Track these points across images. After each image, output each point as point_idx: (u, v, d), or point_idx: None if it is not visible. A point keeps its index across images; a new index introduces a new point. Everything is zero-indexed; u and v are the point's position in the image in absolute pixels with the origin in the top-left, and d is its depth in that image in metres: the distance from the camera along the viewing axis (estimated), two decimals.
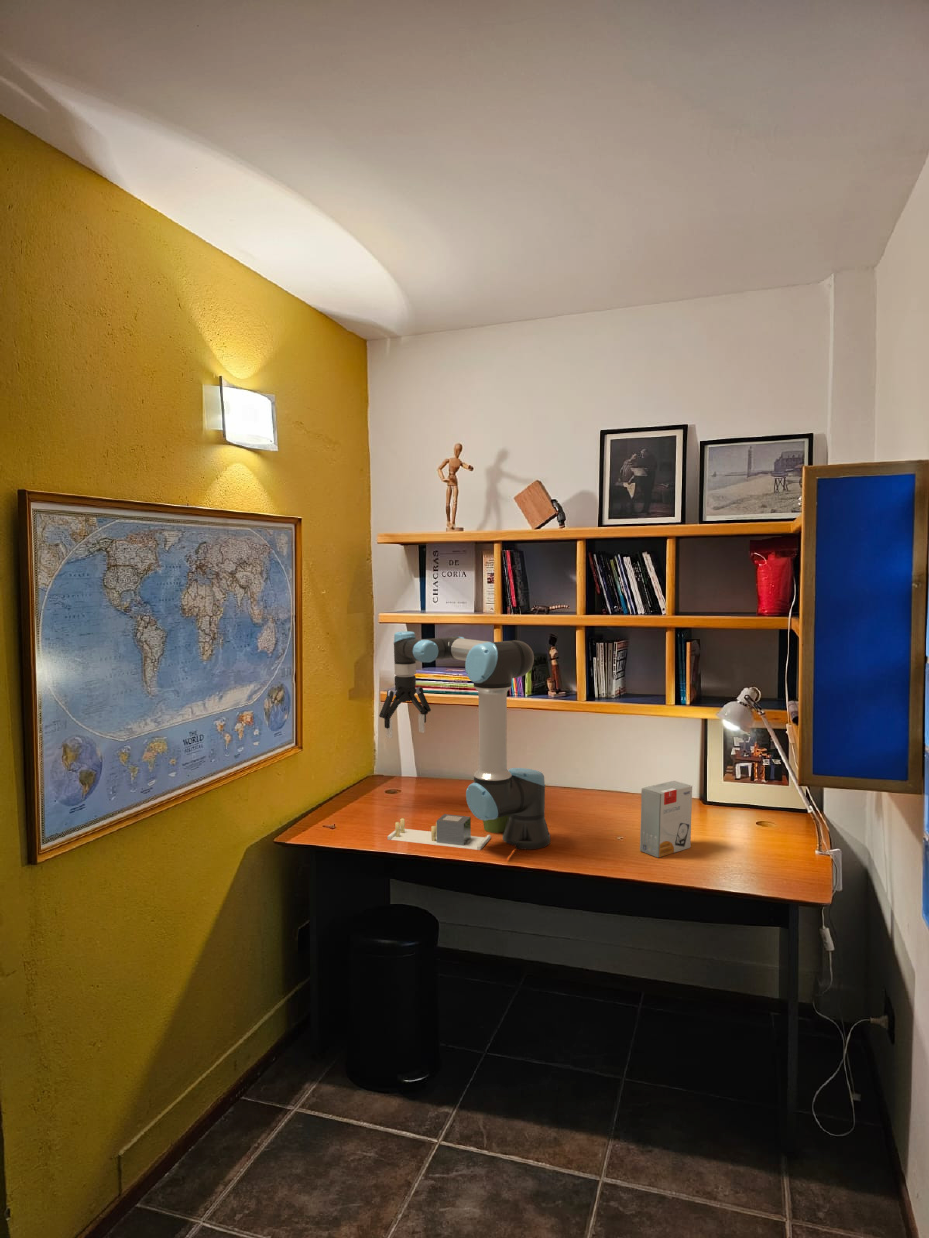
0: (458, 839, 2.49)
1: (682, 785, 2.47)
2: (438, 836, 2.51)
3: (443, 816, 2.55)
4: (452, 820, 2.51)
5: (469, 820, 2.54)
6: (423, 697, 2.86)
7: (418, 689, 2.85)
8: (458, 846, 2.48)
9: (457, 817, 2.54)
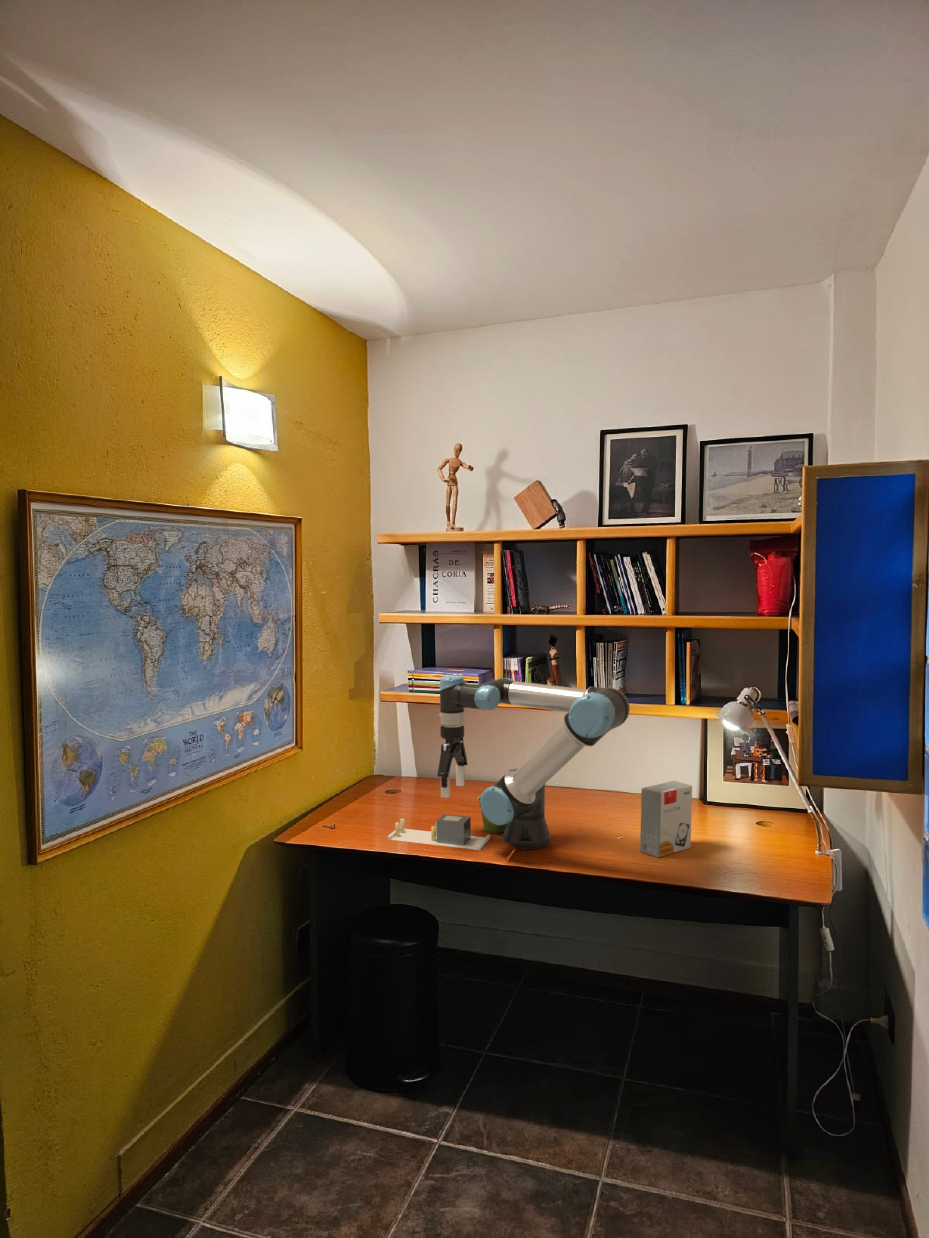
0: (458, 839, 2.49)
1: (682, 785, 2.47)
2: (438, 836, 2.51)
3: (443, 816, 2.55)
4: (452, 820, 2.51)
5: (469, 820, 2.54)
6: (463, 747, 2.58)
7: (459, 738, 2.56)
8: (458, 846, 2.48)
9: (457, 817, 2.54)
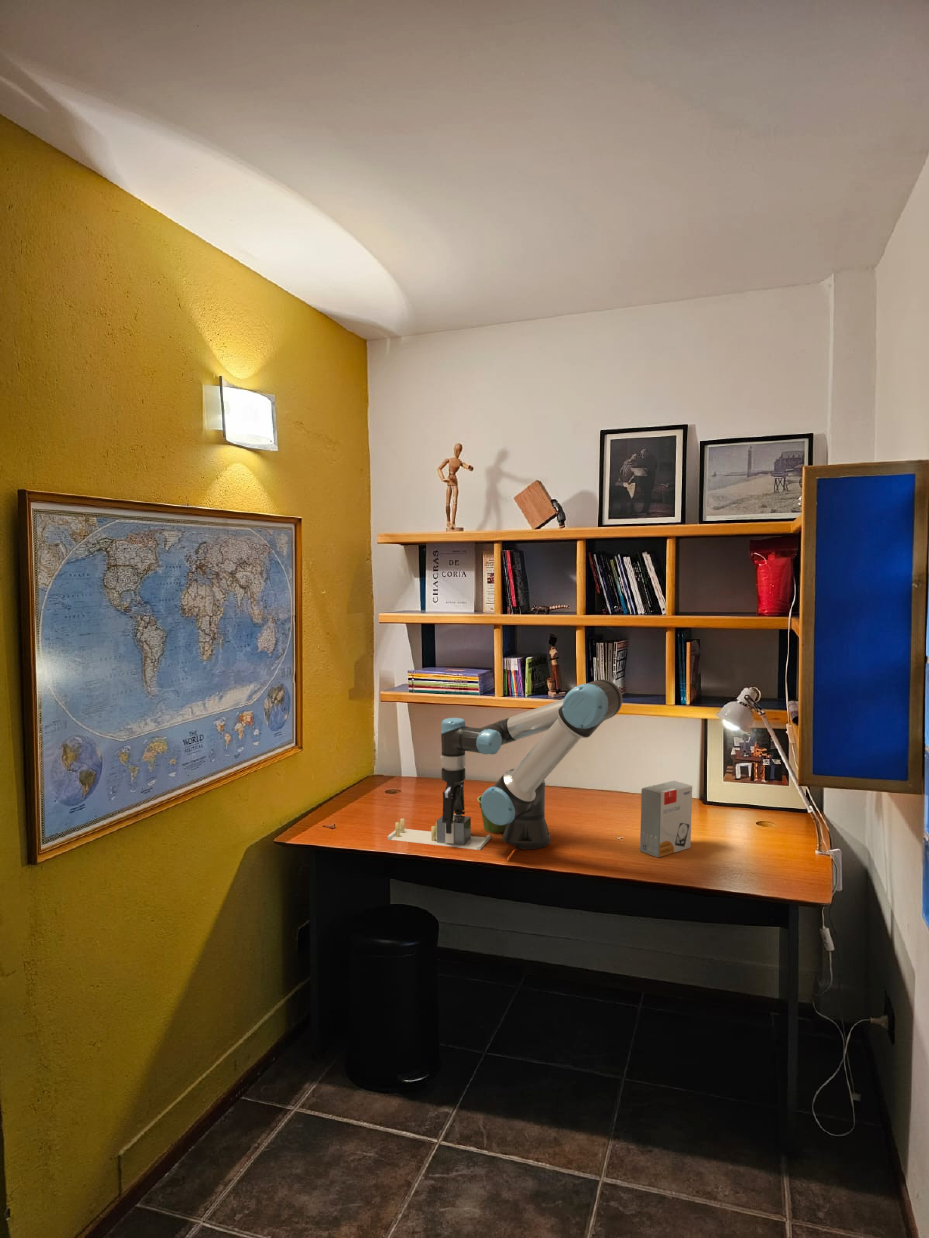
0: (458, 839, 2.49)
1: (682, 785, 2.47)
2: (438, 836, 2.51)
3: None
4: None
5: (469, 820, 2.54)
6: (463, 792, 2.57)
7: None
8: (458, 846, 2.48)
9: (457, 817, 2.54)
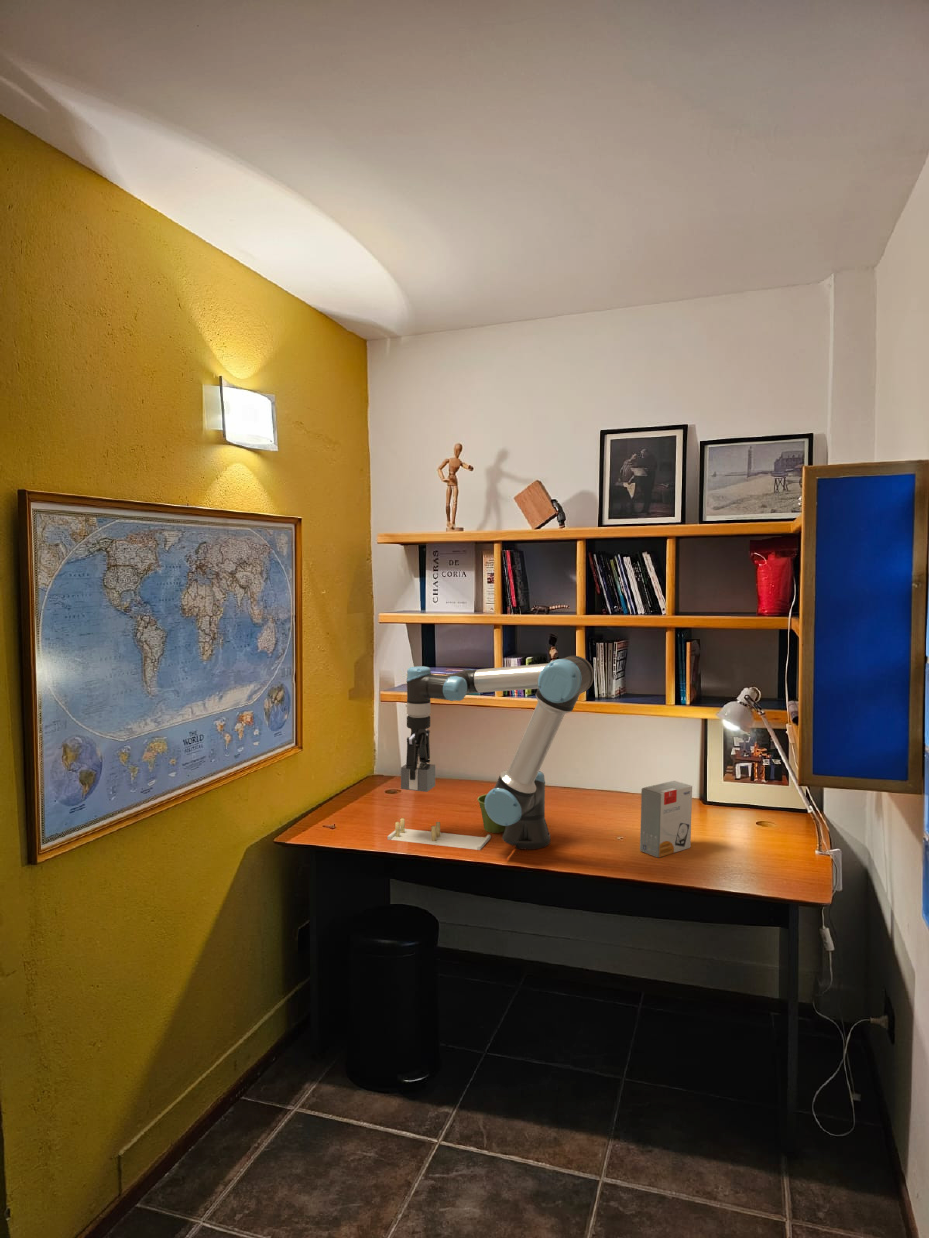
0: (422, 785, 2.52)
1: (682, 785, 2.47)
2: (402, 783, 2.54)
3: None
4: None
5: (433, 768, 2.56)
6: (428, 741, 2.60)
7: (425, 731, 2.59)
8: (458, 846, 2.48)
9: (422, 765, 2.57)
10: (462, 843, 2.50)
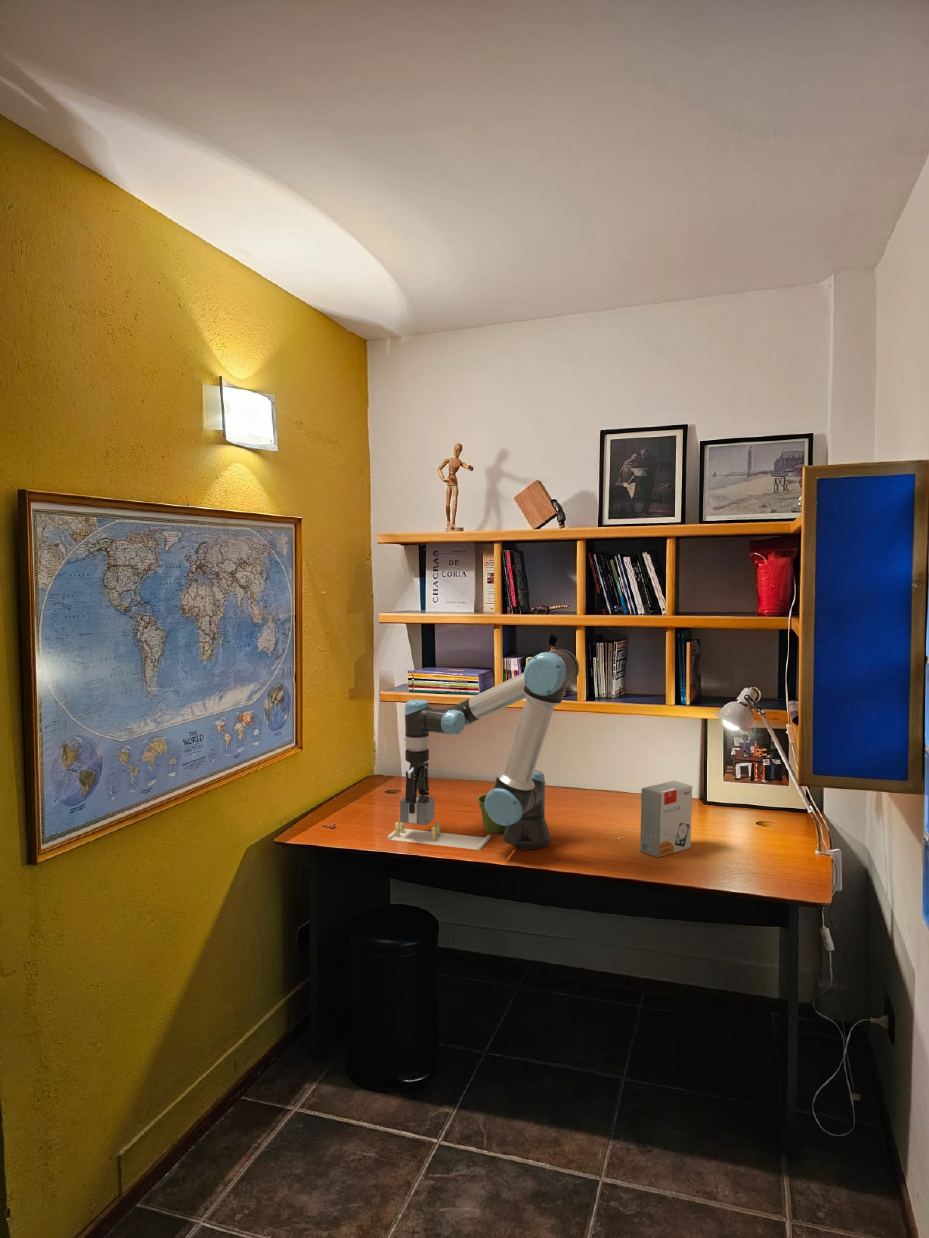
0: (421, 818, 2.52)
1: (682, 785, 2.47)
2: (402, 816, 2.55)
3: None
4: None
5: (433, 800, 2.57)
6: (427, 774, 2.61)
7: (424, 764, 2.60)
8: (458, 846, 2.48)
9: (421, 797, 2.57)
10: (462, 843, 2.50)
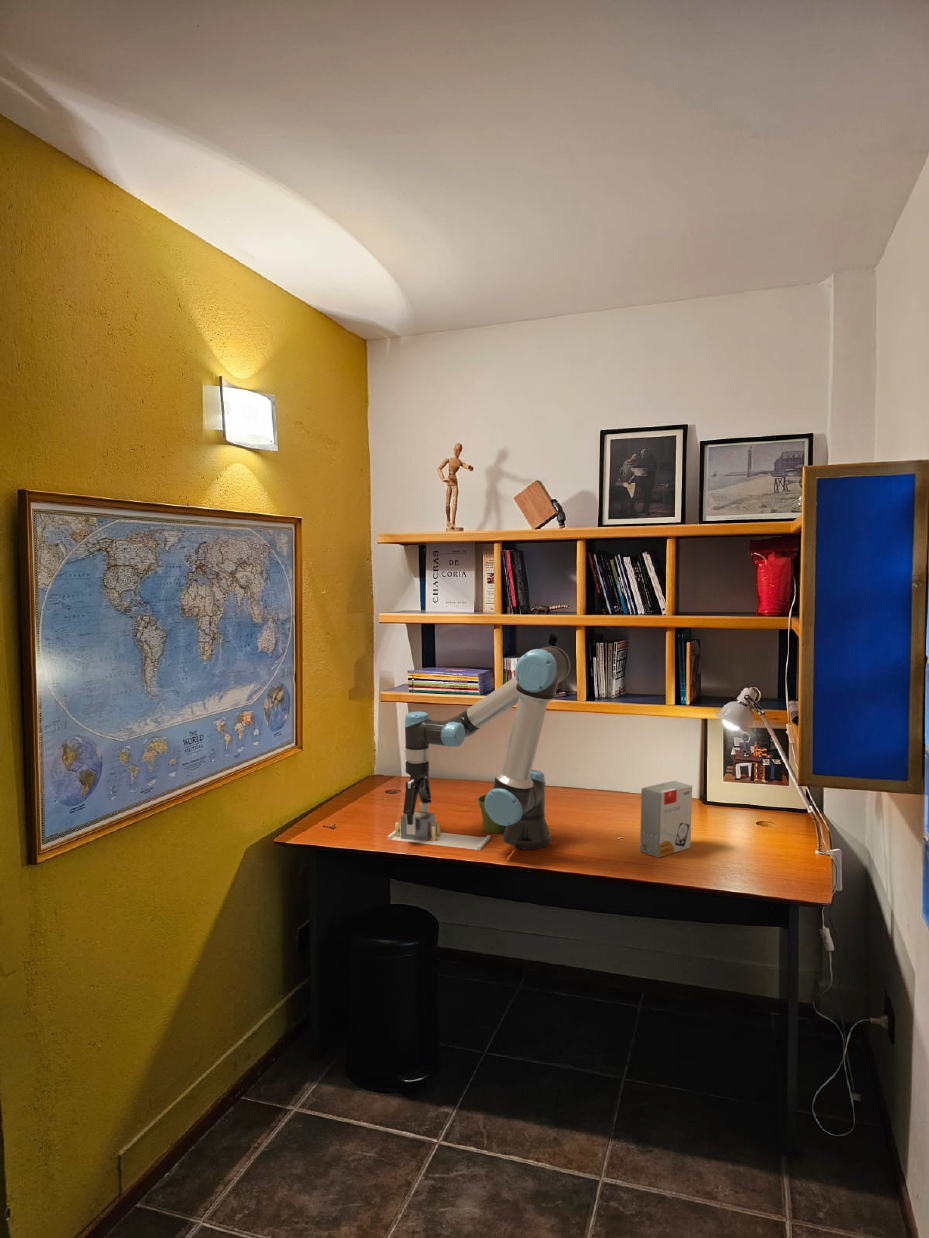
0: (422, 835, 2.53)
1: (682, 785, 2.47)
2: (402, 832, 2.55)
3: None
4: (416, 816, 2.55)
5: (433, 816, 2.57)
6: (428, 783, 2.62)
7: (424, 774, 2.61)
8: (458, 846, 2.48)
9: (421, 813, 2.58)
10: (462, 843, 2.50)
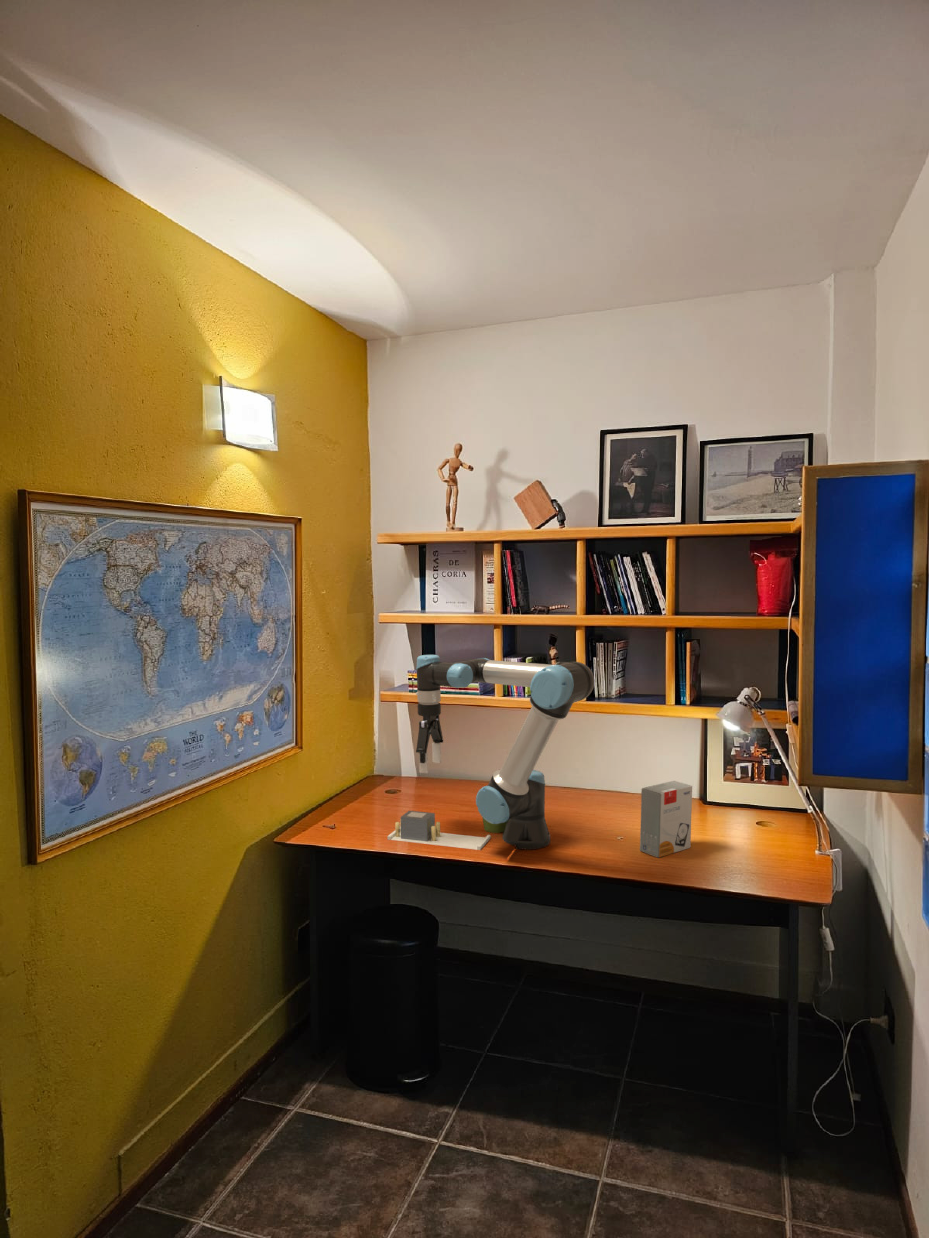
0: (422, 835, 2.53)
1: (682, 785, 2.47)
2: (402, 832, 2.55)
3: (408, 812, 2.59)
4: (416, 816, 2.55)
5: (433, 816, 2.57)
6: (439, 724, 2.66)
7: (435, 716, 2.64)
8: (458, 846, 2.48)
9: (421, 813, 2.58)
10: (462, 843, 2.50)
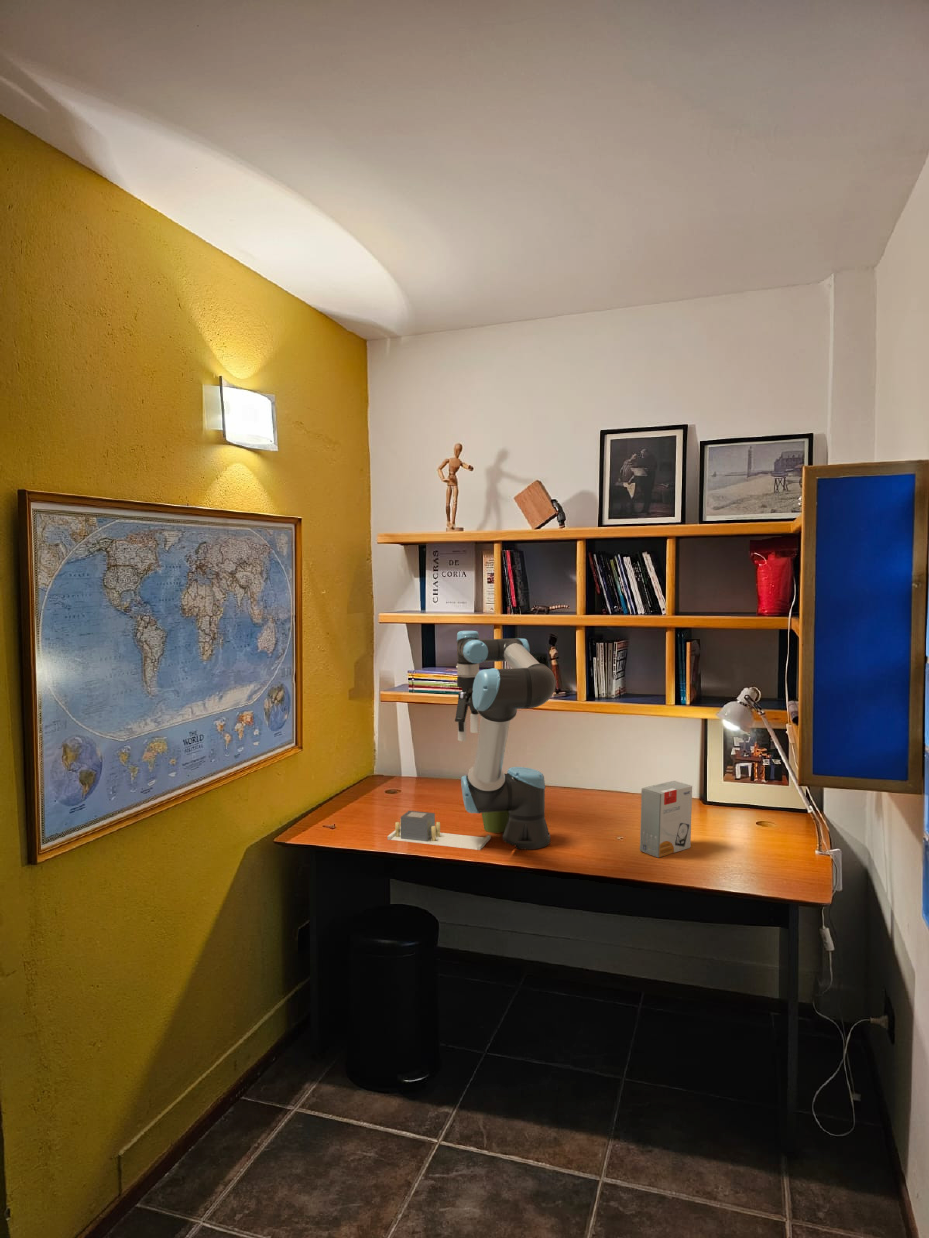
0: (422, 835, 2.53)
1: (682, 785, 2.47)
2: (402, 832, 2.55)
3: (408, 812, 2.59)
4: (416, 816, 2.55)
5: (433, 816, 2.57)
6: None
7: None
8: (458, 846, 2.48)
9: (421, 813, 2.58)
10: (462, 843, 2.50)
